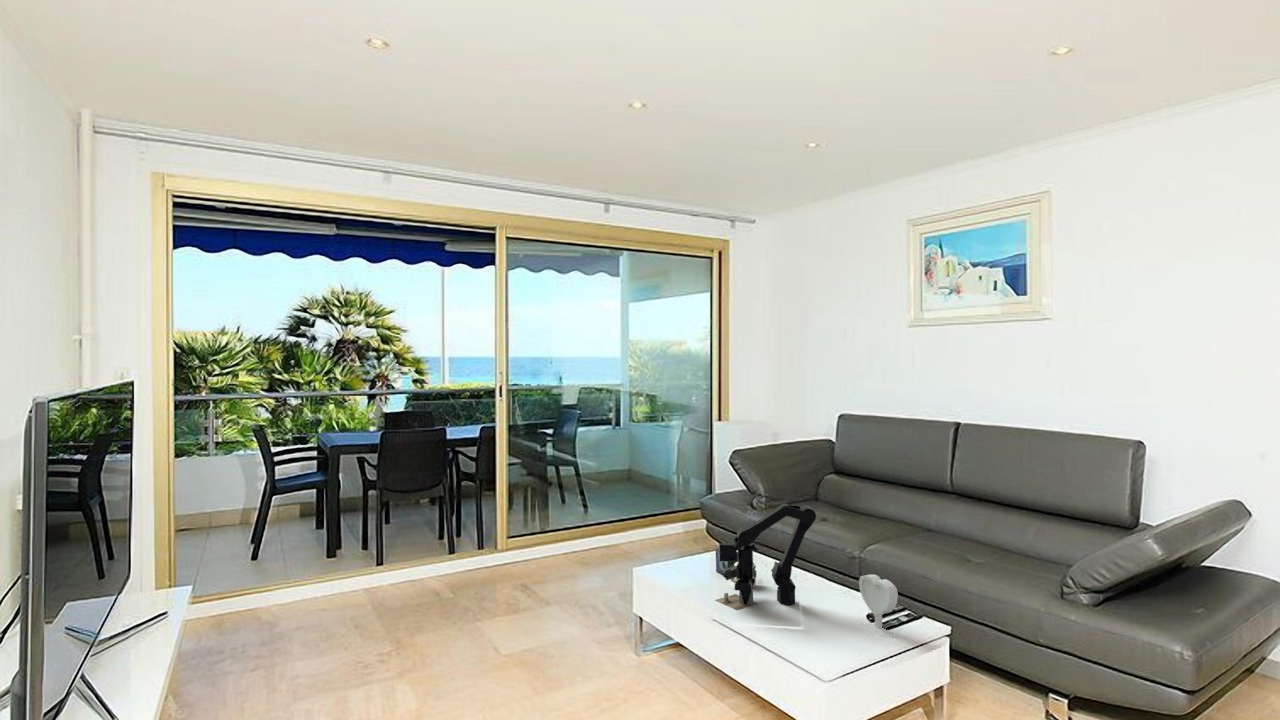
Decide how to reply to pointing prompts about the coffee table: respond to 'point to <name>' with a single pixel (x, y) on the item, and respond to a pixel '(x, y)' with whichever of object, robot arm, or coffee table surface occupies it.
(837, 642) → the coffee table surface
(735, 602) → the base plate
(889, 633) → the heart sculpture
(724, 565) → the small box
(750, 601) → the knob
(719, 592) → the coffee table surface
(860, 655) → the coffee table surface
